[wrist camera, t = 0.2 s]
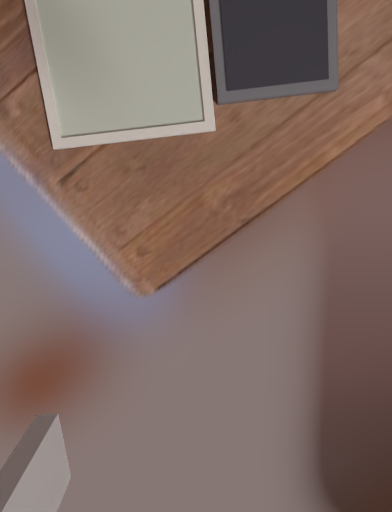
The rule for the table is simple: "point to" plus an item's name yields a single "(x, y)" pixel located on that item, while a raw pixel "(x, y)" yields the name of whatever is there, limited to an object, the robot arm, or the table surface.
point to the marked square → (122, 69)
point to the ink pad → (273, 48)
